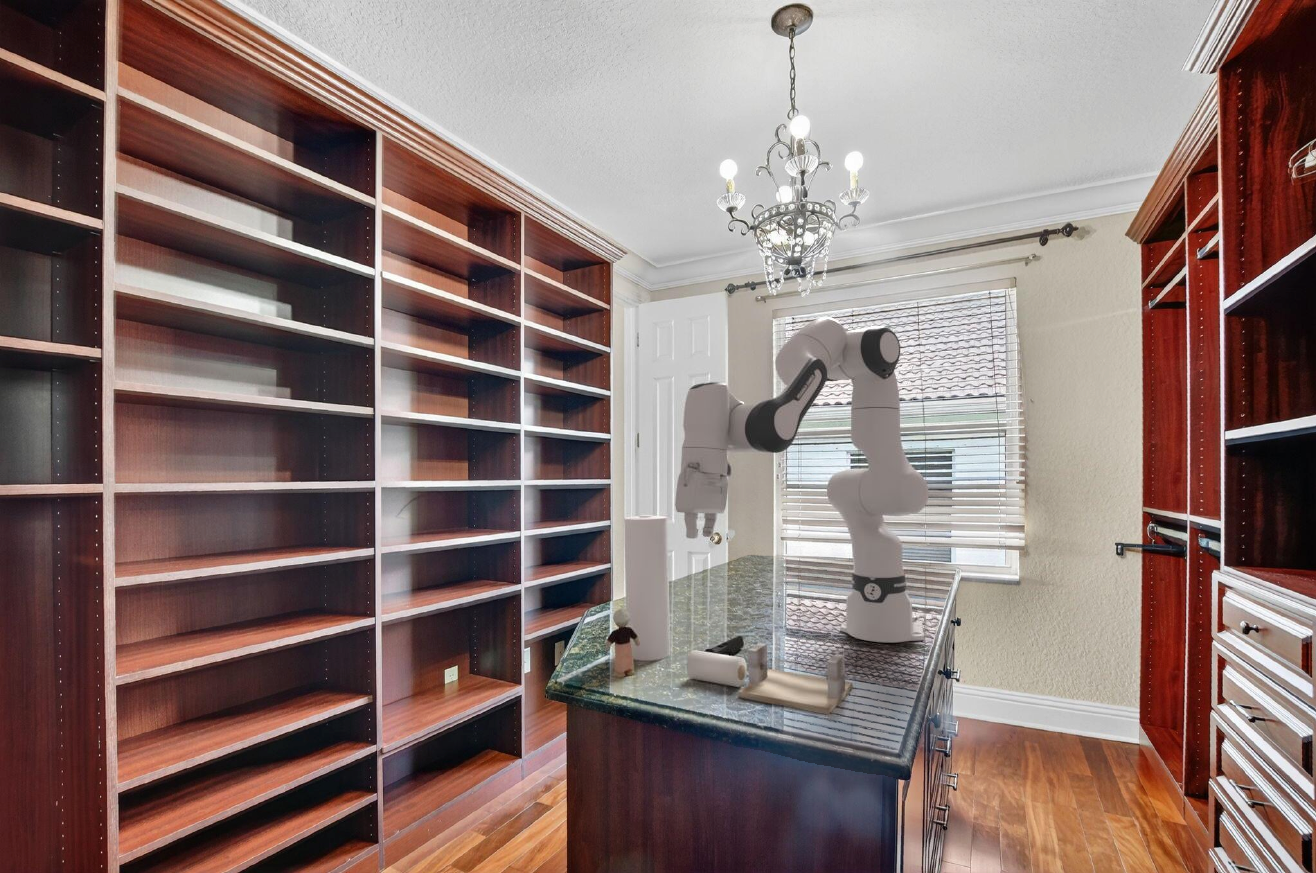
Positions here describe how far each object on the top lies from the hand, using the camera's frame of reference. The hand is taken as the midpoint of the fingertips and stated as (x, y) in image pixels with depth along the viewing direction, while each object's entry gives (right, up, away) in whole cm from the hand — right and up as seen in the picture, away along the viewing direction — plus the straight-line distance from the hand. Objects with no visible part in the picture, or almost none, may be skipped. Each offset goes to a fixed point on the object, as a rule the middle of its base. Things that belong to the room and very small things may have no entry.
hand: (700, 537), depth 120 cm
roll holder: (+17, -26, -8) cm, 32 cm away
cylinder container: (-10, -28, +17) cm, 35 cm away
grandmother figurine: (-15, -28, +4) cm, 32 cm away
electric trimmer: (+6, -28, +14) cm, 32 cm away
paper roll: (+3, -27, -1) cm, 27 cm away
